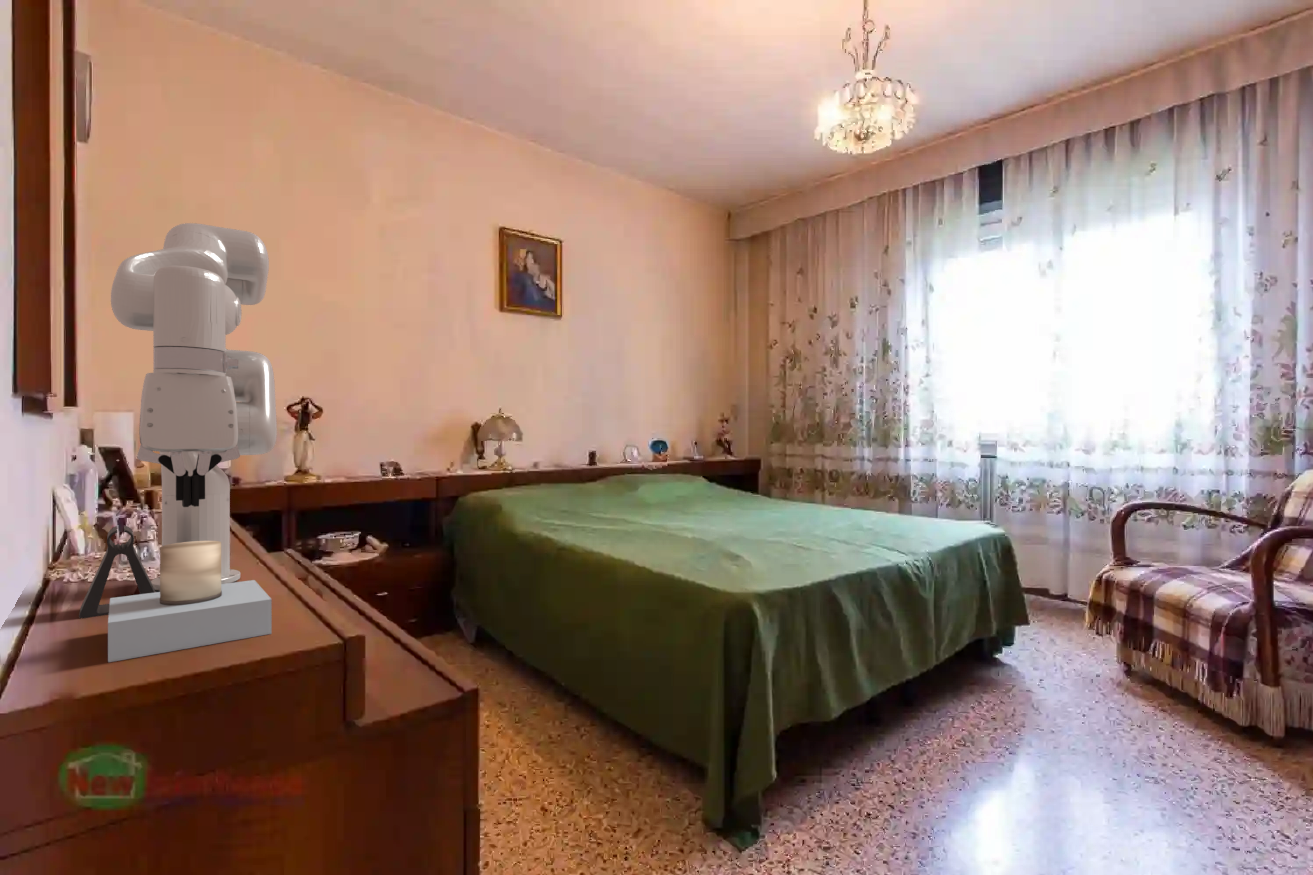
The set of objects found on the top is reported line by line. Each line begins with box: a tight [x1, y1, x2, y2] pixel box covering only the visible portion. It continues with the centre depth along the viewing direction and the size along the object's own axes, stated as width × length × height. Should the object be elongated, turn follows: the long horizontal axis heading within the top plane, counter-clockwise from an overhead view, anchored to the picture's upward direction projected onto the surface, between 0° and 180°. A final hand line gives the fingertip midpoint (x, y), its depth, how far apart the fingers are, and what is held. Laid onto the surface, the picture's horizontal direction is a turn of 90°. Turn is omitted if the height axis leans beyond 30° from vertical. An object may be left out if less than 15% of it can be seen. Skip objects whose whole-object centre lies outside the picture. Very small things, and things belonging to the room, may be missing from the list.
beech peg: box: [159, 541, 222, 605], centre depth 82 cm, size 6×6×11 cm
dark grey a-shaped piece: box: [78, 525, 157, 619], centre depth 93 cm, size 9×6×12 cm, turn 130°
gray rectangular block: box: [107, 579, 273, 663], centre depth 82 cm, size 14×16×4 cm
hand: (190, 505), depth 81 cm, fingers closed
